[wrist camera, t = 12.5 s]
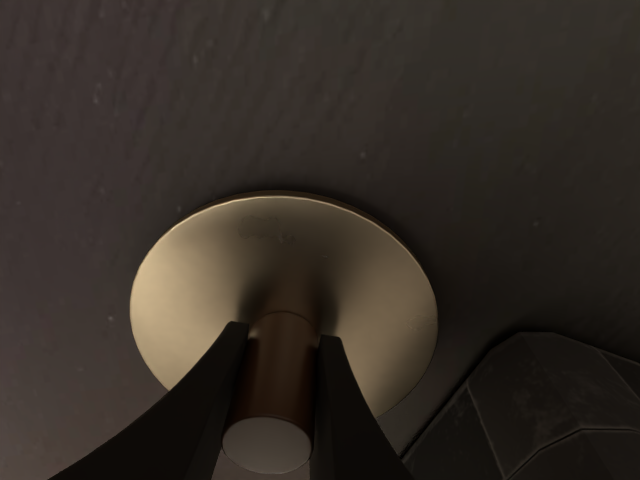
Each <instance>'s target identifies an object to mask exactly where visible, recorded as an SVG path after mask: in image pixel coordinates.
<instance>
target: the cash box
mask: <svg viewBox="0 0 640 480" xmlns="http://www.w3.org/2000/svg"><path fill="white" fill-rule="evenodd" d="M401 461H402V462H403V464H404V465H405V466H406V468H407V469H408V470H409V472H410V473H411V474H412V476H413V477H414V478H415V480H640V363H638V362H635V361H632V360H629V359H626V358H624V357H621V356H618V355H615V354H613V353H610V352H607V351H604V350H602V349H599V348H596V347H593V346H590V345H587V344H584V343H582V342H579V341H576V340H573V339H571V338H568V337H565V336H562V335H559V334H557V333H554V332H518V333H516V334H515V335H513V336H512V337H510V338H508V339H507V340H505V341H504V342H502V343H500V344H499V345H497V346H495V347H494V348H492V349H491V350H490V351H489V352H488V353H487V355H486V356H485V357H484V358H483V360H482V361H481V362H480V363H479V364H478V366H477V367H476V368H475V369H474V371H473V372H472V373H471V374H470V376H469V377H468V378H467V379H466V380H465V381H464V383H463V384H462V385H461V386H460V388H459V389H458V390H457V391H456V393H455V394H454V395H453V396H452V398H451V399H450V400H449V401H448V402H447V404H446V405H445V406H444V407H443V409H442V410H441V411H440V412H439V414H438V415H437V416H436V417H435V419H434V420H433V421H432V422H431V423H430V425H429V426H428V427H427V428H426V430H425V431H424V432H423V433H422V435H421V436H420V437H419V438H418V440H417V441H416V442H415V443H414V445H413V446H412V447H411V448H410V449H409V451H408V452H407V453H406V454H405V456H404V457H403V458H402V459H401Z"/></svg>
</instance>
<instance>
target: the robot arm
mask: <svg viewBox="0 0 640 480" xmlns="http://www.w3.org/2000/svg"><path fill="white" fill-rule="evenodd" d="M248 333H249V324H248V323H242V322H235V321H230V322H228V323H227V324H226V326H225V328H224V329H223V331H222V332H221V333H220V335H219V336H218V338H217V339H216V340H215V341H214V343H213V344H212V345H211V346H210V348H209V349H208V350H207V351H206V353H205V354H204V355H203V356H202V357H201V358H200V359H199V361H198V362H197V363H196V364H195V365H194V366H193V367H192V368H191V370H190V371H189V372H188V373H187V374H186V375H185V376H184V377H183V378H182V379H181V380H180V381H179V382H178V383H177V384H176V385H175V386H174V387H173V388H172V389H171V390H170V391H169V392H168V393H167V394H166V395H164V396H163V397H162V398H161V399H160V400H159V401H158V402H157V403H156V404H154V405H153V406H152V407H151V408H150V409H149V410H147V411H146V412H145V413H144V414H143V415H141V416H140V417H139V418H138V419H136V420H135V421H134V422H133V423H131V424H130V425H129V426H128V427H126V428H125V429H124V430H122V431H121V432H120V433H118V434H117V435H116V436H114V437H113V438H111V439H110V440H108V441H107V442H105V443H104V444H103V445H101V446H100V447H98V448H97V449H95V450H94V451H92V452H91V453H90V454H88V455H87V456H85V457H84V458H82V459H81V460H79V461H77V462H76V463H74V464H73V465H71V466H69V467H68V468H66V469H64V470H63V471H61V472H59V473H58V474H56V475H54V476H53V477H51V478H49V479H48V480H211V478H212V475H213V471H214V468H215V465H216V462H217V459H218V456H219V453H220V450H221V447H222V445H221V434H222V431H223V427H224V423H225V420H226V416H227V412H228V409H229V405H230V401H231V398H232V394H233V391H234V387H235V383H236V380H237V376H238V373H239V369H240V366H241V363H242V359H243V355H244V352H245V348H246V345H247V341H248ZM310 480H415V478H414V477H413V476H412V474H411V473H410V472H409V470H408V469H407V468H406V466H405V465H404V464H403V462H402V461H401V460H400V458H399V457H398V455H397V454H396V452H395V451H394V449H393V448H392V446H391V445H390V443H389V441H388V440H387V438H386V437H385V435H384V433H383V432H382V430H381V428H380V427H379V425H378V423H377V421H376V420H375V418H374V416H373V414H372V412H371V410H370V408H369V406H368V404H367V403H366V400H365V398H364V396H363V394H362V392H361V390H360V388H359V385H358V383H357V381H356V379H355V376H354V374H353V372H352V369H351V366H350V364H349V361H348V358H347V356H346V353H345V350H344V346H343V343H342V340H341V338H340V337H337V336H331V335H324V334H321V337H320V342H319V346H318V354H317V387H316V411H315V435H314V450H313V453H312V455H311V457H310Z"/></svg>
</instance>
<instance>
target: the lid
mask: <svg viewBox="0 0 640 480" xmlns="http://www.w3.org/2000/svg"><path fill="white" fill-rule="evenodd" d="M130 321H131V327H132V333H133V336H134V339H135V342H136V345H137V348H138V350H139V352H140V354H141V356H142V358H143V360H144V361H145V363H146V364H147V366H148V367H149V369H150V370H151V372H152V373H153V375H154V376H155V377H156V378H157V379H158V380H159V381H160V383H161V384H162V385H163V386H164V387H165V388H166V389H167V390H168V391H170V390H171V389H172V388H173V387H174V386H175V385H176V384H177V383H178V382H179V381H180V380H181V379H182V378H183V377H184V376H185V375H186V374H187V373H188V372H189V371H190V370H191V368H192V367H193V366H194V365H195V364H196V363H197V362H198V361H199V359H200V358H201V357H202V356H203V355H204V354H205V353H206V351H207V350H208V349H209V348H210V346H211V345H212V344H213V343H214V341H215V340H216V339H217V338H218V336H219V335H220V333H221V332H222V331H223V329H224V328H225V326H226V324H227V323H228V322H230V321H235V322H242V323H248V324H249V333H248V341H247V345H246V348H245V352H244V355H243V359H242V363H241V366H240V369H239V373H238V376H237V380H236V383H235V387H234V391H233V394H232V398H231V401H230V405H229V409H228V412H227V416H226V420H225V423H224V427H223V431H222V434H221V445H222V449H223V451H224V453H225V454H226V456H227V457H228V458H229V459H230V460H231V461H232V462H234V463H235V464H237V465H238V466H240V467H242V468H244V469H247V470H250V471H253V472H257V473H263V474H280V473H286V472H290V471H293V470H295V469H297V468H299V467H301V466H302V465H304V464H305V463H306V462H307V461H308V460H309V459H310V457H311V455H312V453H313V450H314V435H315V411H316V387H317V354H318V346H319V342H320V337H321V334H324V335H331V336H337V337H340V338H341V340H342V343H343V346H344V350H345V353H346V356H347V358H348V361H349V364H350V366H351V369H352V372H353V374H354V376H355V379H356V381H357V383H358V385H359V388H360V390H361V392H362V394H363V396H364V398H365V400H366V403H367V404H368V406H369V408H370V410H371V412H372V414H373V416H374V418H377V417H379V416H381V415H382V414H384V413H385V412H387V411H388V410H390V409H391V408H393V407H394V406H395V405H397V404H398V403H399V402H400V401H402V400H403V399H404V398H405V397H406V396H407V395H408V394H409V393H410V392H411V391H412V390H413V389H414V388H415V387H416V385H417V384H418V382H419V381H420V380H421V378H422V377H423V375H424V374H425V372H426V370H427V368H428V366H429V364H430V362H431V360H432V357H433V354H434V351H435V348H436V344H437V337H438V330H439V322H438V309H437V304H436V299H435V295H434V292H433V290H432V287H431V285H430V282H429V279H428V277H427V274H426V272H425V271H424V269H423V267H422V265H421V264H420V262H419V260H418V259H417V257H416V256H415V254H414V253H413V252H412V251H411V249H410V248H409V247H408V246H407V245H406V243H405V242H404V241H403V240H402V239H401V238H400V237H398V236H397V235H396V234H395V233H394V232H393V231H392V230H391V229H390V228H388V227H387V226H386V225H384V224H383V223H381V222H380V221H378V220H377V219H376V218H374V217H373V216H371V215H369V214H367V213H365V212H363V211H361V210H359V209H357V208H356V207H354V206H352V205H349V204H346V203H343V202H341V201H338V200H335V199H332V198H329V197H325V196H320V195H316V194H312V193H307V192H298V191H288V190H262V191H254V192H247V193H240V194H235V195H232V196H228V197H225V198H221V199H218V200H215V201H213V202H210V203H208V204H206V205H204V206H201V207H199V208H197V209H195V210H193V211H192V212H190V213H189V214H187V215H185V216H184V217H182V218H181V219H179V220H178V221H177V222H175V223H174V224H173V225H172V226H171V227H170V228H168V229H167V230H166V231H165V232H164V233H163V234H162V235H161V237H160V238H159V239H158V240H157V241H156V243H155V244H154V245H153V246H152V247H151V248H150V250H149V251H148V252H147V254H146V256H145V257H144V259H143V261H142V262H141V264H140V266H139V268H138V270H137V273H136V276H135V278H134V281H133V285H132V290H131V296H130Z"/></svg>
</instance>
